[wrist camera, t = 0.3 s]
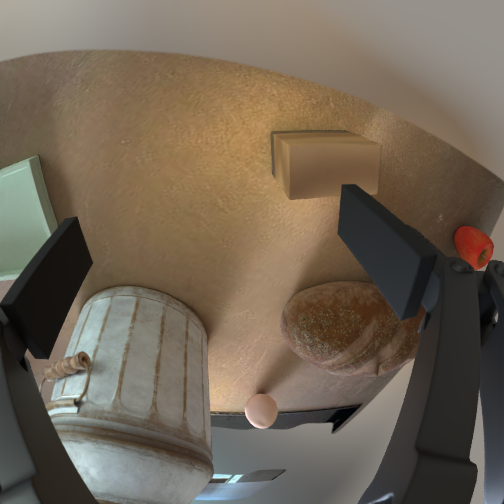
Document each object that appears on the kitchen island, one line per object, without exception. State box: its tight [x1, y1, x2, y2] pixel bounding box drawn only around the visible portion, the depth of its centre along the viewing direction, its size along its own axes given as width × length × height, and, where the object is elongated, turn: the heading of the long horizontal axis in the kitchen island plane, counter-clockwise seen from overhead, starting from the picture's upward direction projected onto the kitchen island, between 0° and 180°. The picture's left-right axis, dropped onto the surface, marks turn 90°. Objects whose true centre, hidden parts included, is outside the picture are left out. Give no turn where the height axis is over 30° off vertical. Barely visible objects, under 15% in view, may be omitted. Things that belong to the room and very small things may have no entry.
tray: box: [0, 155, 58, 281], centre depth 29 cm, size 16×20×2 cm
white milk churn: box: [39, 286, 214, 504], centre depth 28 cm, size 25×22×36 cm
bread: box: [280, 281, 426, 377], centre depth 42 cm, size 16×29×11 cm, turn 73°
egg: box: [245, 394, 278, 428], centre depth 53 cm, size 7×7×8 cm
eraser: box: [271, 130, 382, 200], centre depth 28 cm, size 5×9×8 cm, turn 93°
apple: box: [454, 226, 494, 270], centre depth 38 cm, size 6×6×8 cm
